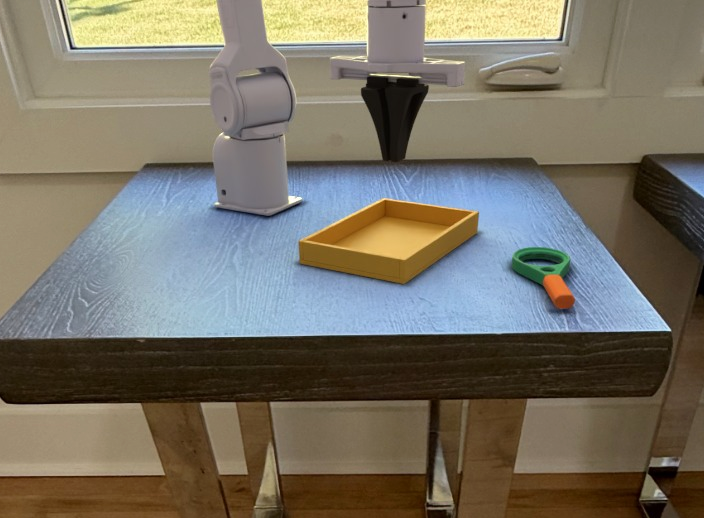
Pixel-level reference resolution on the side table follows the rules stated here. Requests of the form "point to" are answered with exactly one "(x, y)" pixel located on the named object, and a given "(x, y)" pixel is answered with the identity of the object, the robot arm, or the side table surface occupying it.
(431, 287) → the side table surface
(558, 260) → the magnifying glass
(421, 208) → the tray
